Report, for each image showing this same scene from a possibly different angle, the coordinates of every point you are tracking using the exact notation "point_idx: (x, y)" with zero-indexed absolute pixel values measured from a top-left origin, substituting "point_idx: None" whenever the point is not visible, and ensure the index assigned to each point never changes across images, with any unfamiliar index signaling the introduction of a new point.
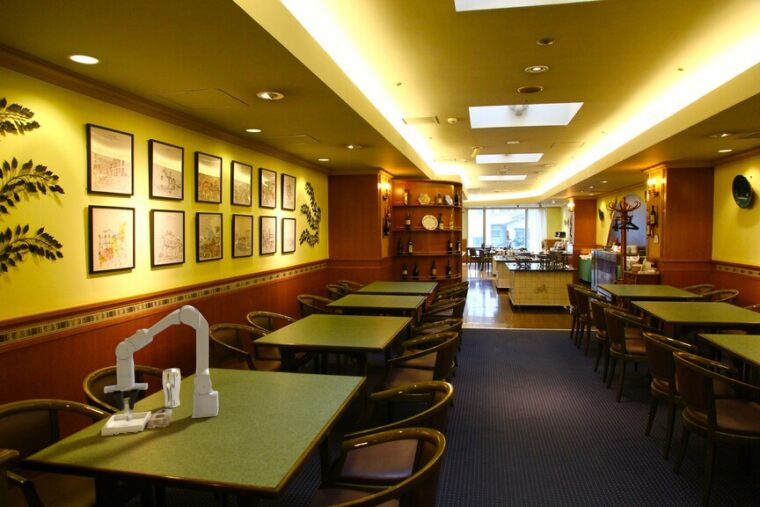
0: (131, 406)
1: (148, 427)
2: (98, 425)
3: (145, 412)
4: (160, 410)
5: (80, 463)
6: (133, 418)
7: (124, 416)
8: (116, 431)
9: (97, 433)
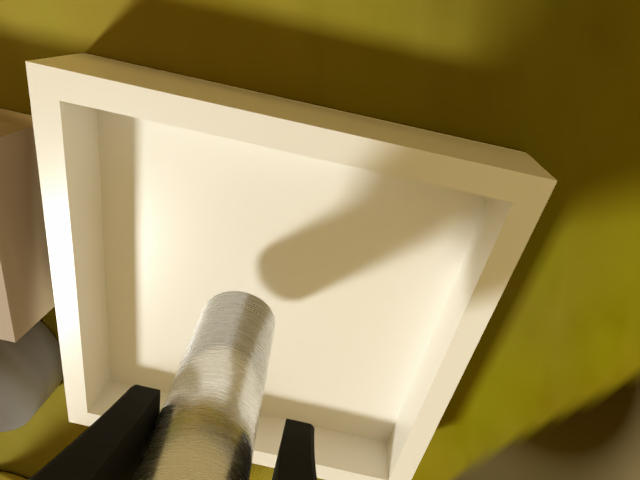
0: (107, 428)
1: None
2: (517, 423)
3: None
4: (5, 418)
5: None
6: None
7: None
8: (366, 124)
9: (554, 248)
